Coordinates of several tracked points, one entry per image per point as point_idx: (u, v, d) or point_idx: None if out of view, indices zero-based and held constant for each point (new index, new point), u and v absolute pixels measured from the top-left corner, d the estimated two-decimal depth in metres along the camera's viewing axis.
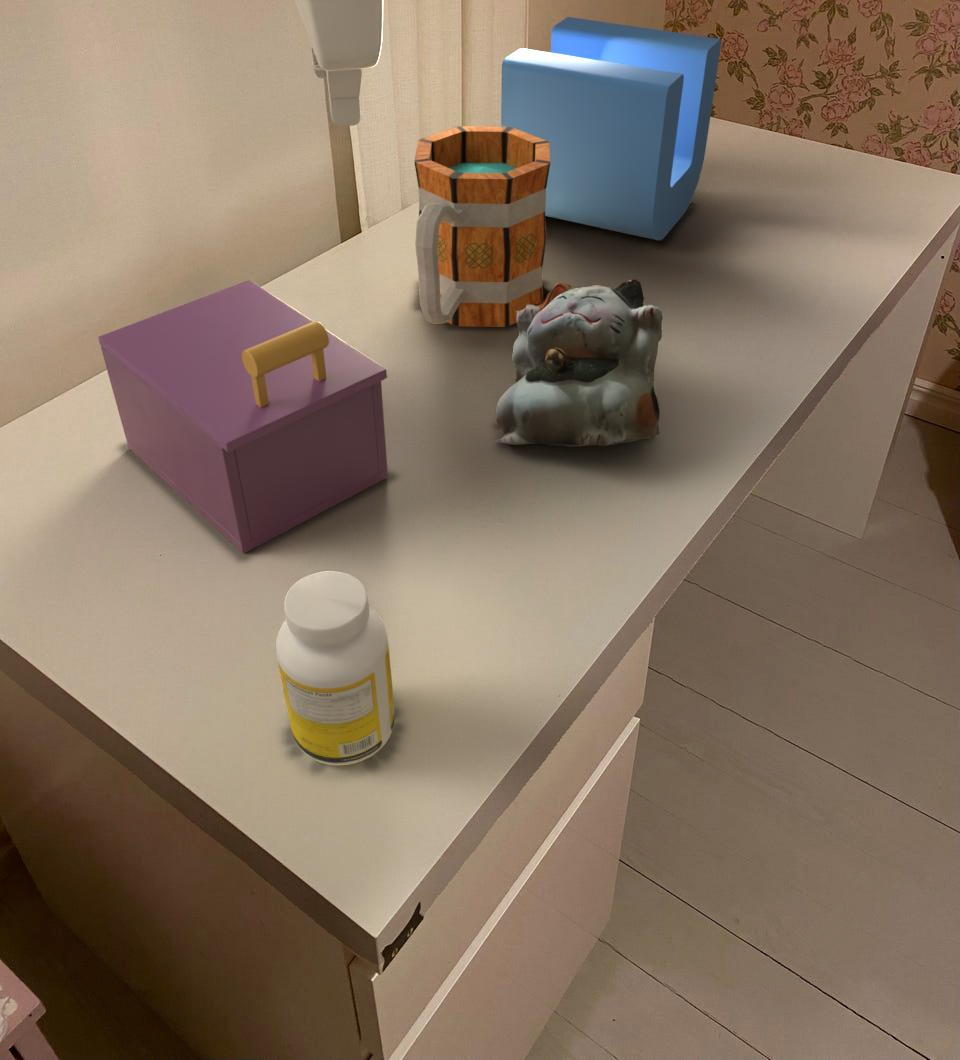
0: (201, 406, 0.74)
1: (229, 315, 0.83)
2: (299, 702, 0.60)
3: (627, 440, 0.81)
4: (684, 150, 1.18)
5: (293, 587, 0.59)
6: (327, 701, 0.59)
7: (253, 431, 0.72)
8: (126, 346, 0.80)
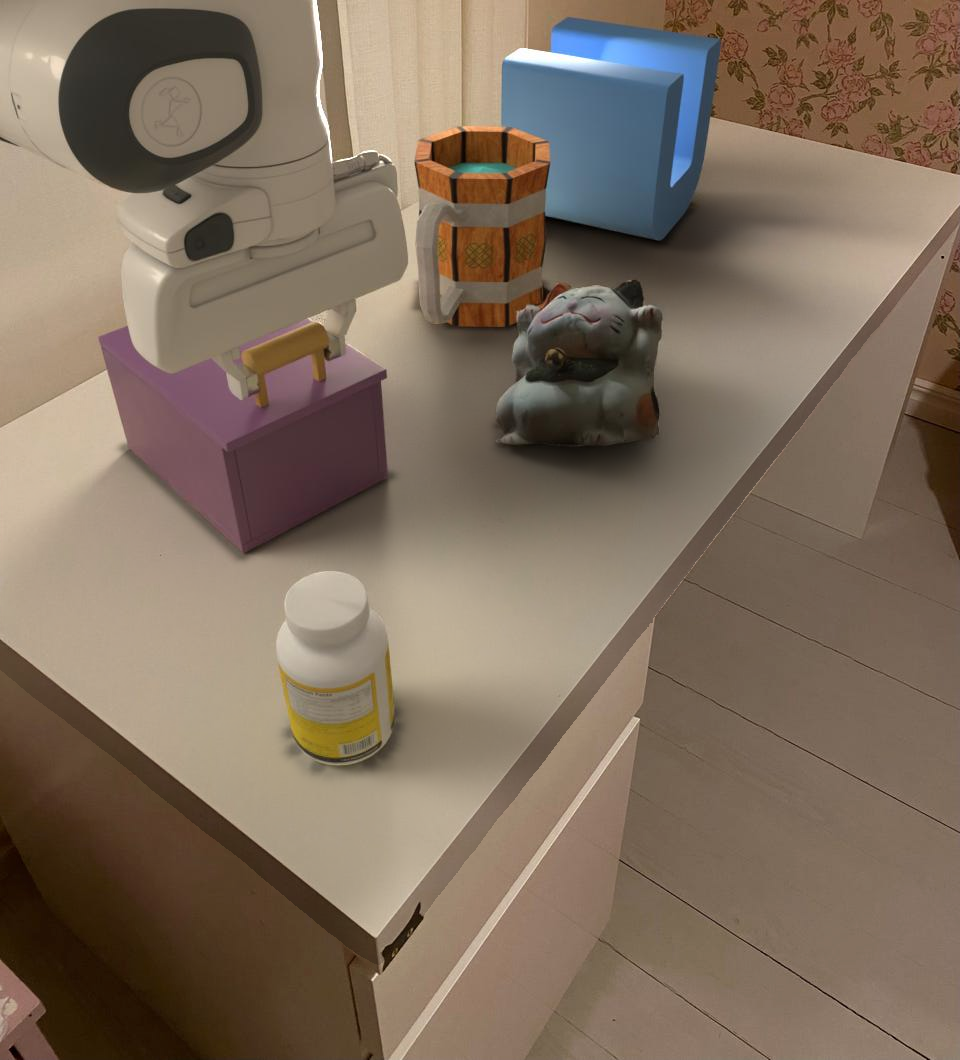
0: (201, 406, 0.74)
1: None
2: (299, 702, 0.60)
3: (627, 440, 0.81)
4: (684, 150, 1.18)
5: (293, 587, 0.59)
6: (327, 701, 0.59)
7: (253, 431, 0.72)
8: (126, 346, 0.80)
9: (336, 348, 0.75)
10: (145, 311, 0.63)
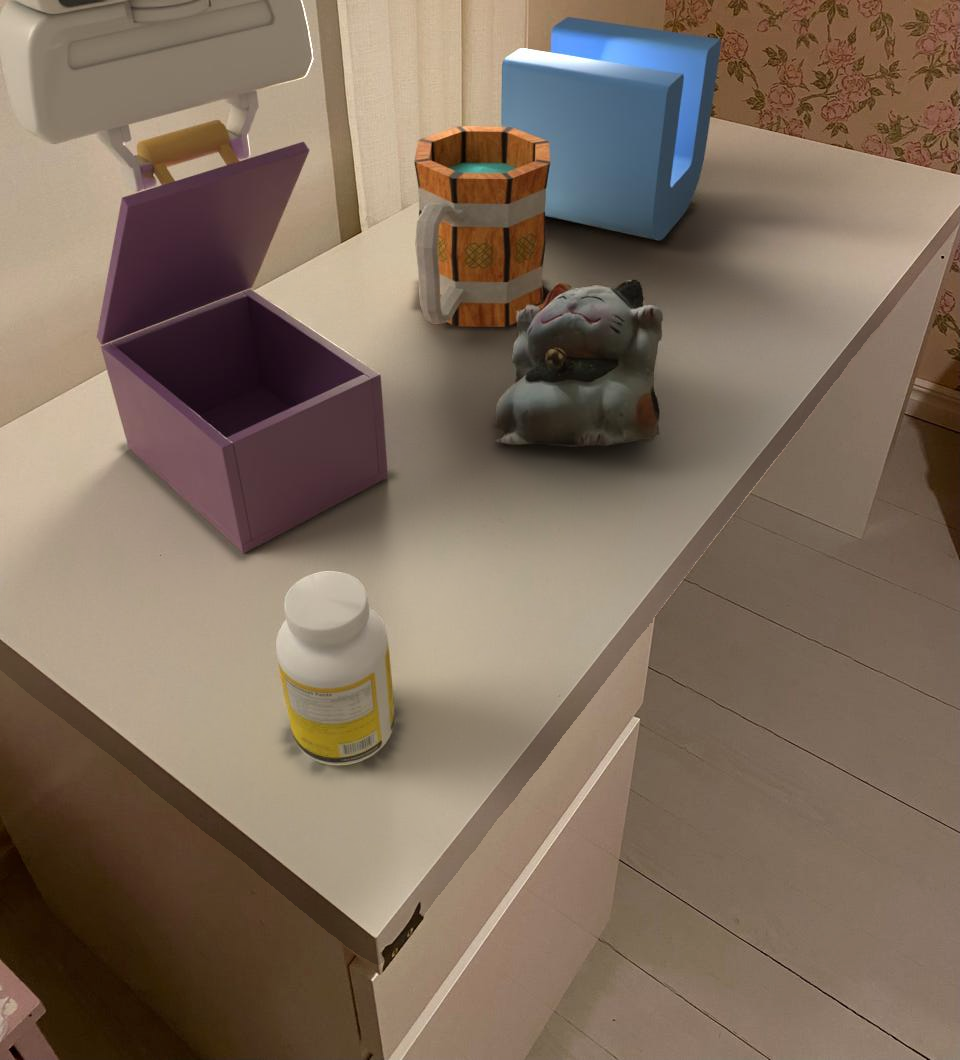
0: None
1: None
2: (299, 702, 0.60)
3: (627, 440, 0.81)
4: (684, 150, 1.18)
5: (293, 587, 0.59)
6: (327, 701, 0.59)
7: (153, 188, 0.66)
8: None
9: (239, 148, 0.73)
10: (20, 68, 0.60)
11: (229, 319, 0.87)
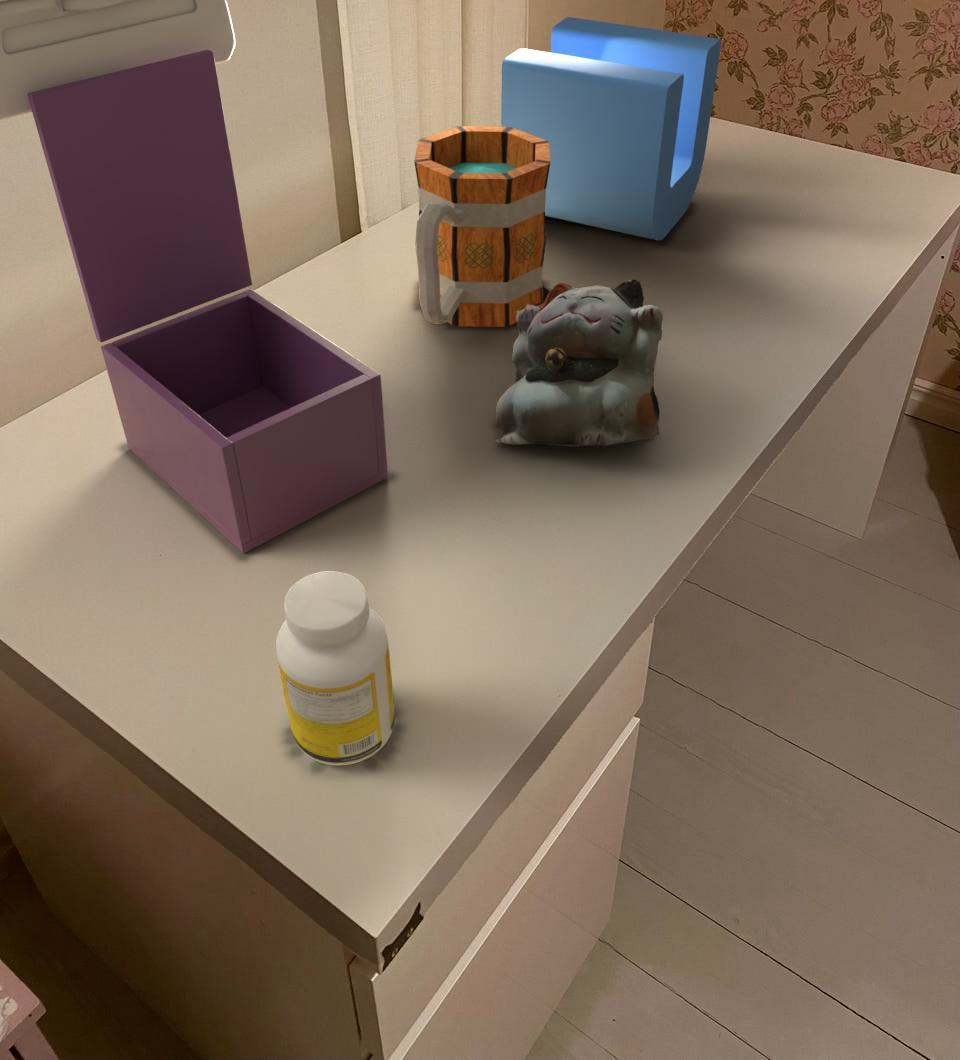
0: None
1: None
2: (299, 702, 0.60)
3: (627, 440, 0.81)
4: (684, 150, 1.18)
5: (293, 587, 0.59)
6: (327, 701, 0.59)
7: None
8: None
9: None
10: None
11: (229, 319, 0.87)
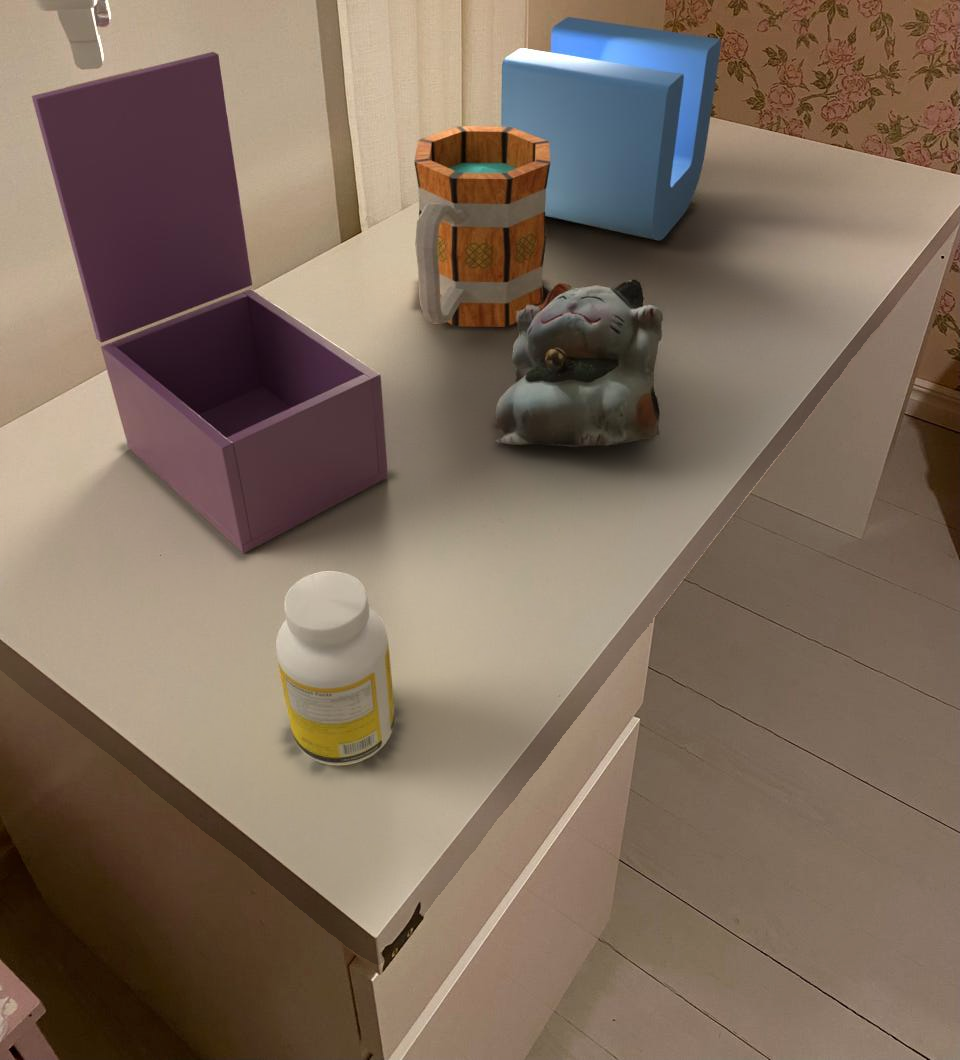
0: None
1: None
2: (299, 702, 0.60)
3: (627, 440, 0.81)
4: (684, 150, 1.18)
5: (293, 587, 0.59)
6: (327, 701, 0.59)
7: (62, 88, 0.70)
8: None
9: (108, 9, 0.77)
10: None
11: (229, 319, 0.87)
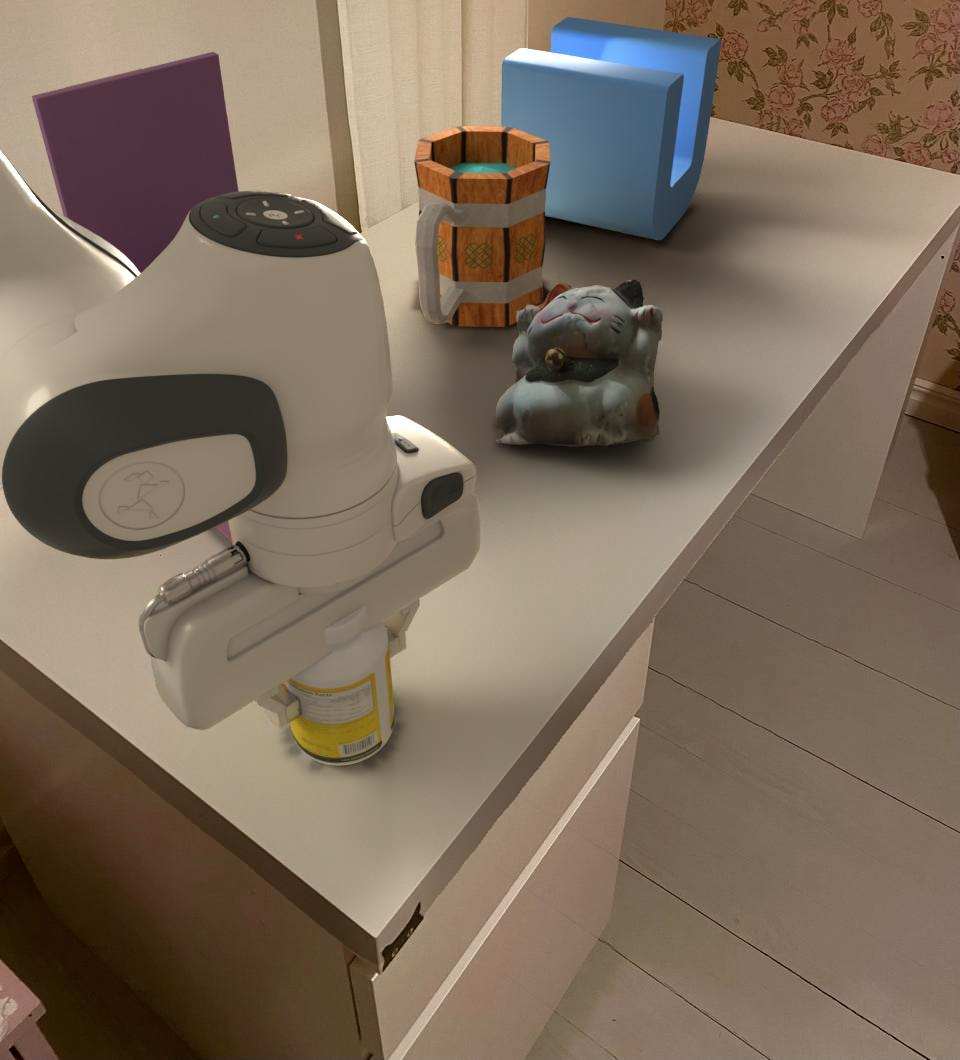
0: None
1: None
2: (299, 702, 0.60)
3: (627, 440, 0.81)
4: (684, 150, 1.18)
5: None
6: (327, 701, 0.59)
7: (62, 88, 0.70)
8: None
9: None
10: None
11: None
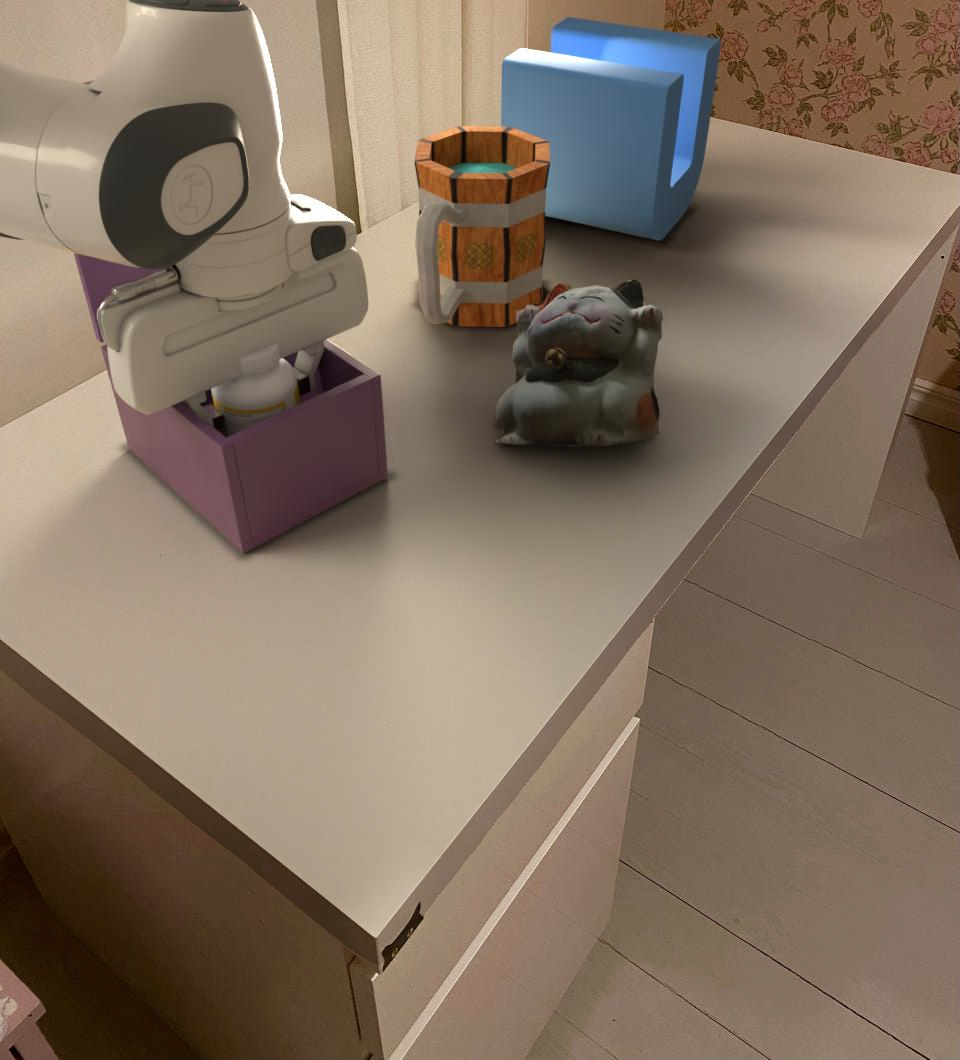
0: None
1: None
2: (228, 426, 0.79)
3: (627, 440, 0.81)
4: (684, 150, 1.18)
5: None
6: (248, 422, 0.78)
7: None
8: None
9: None
10: None
11: None
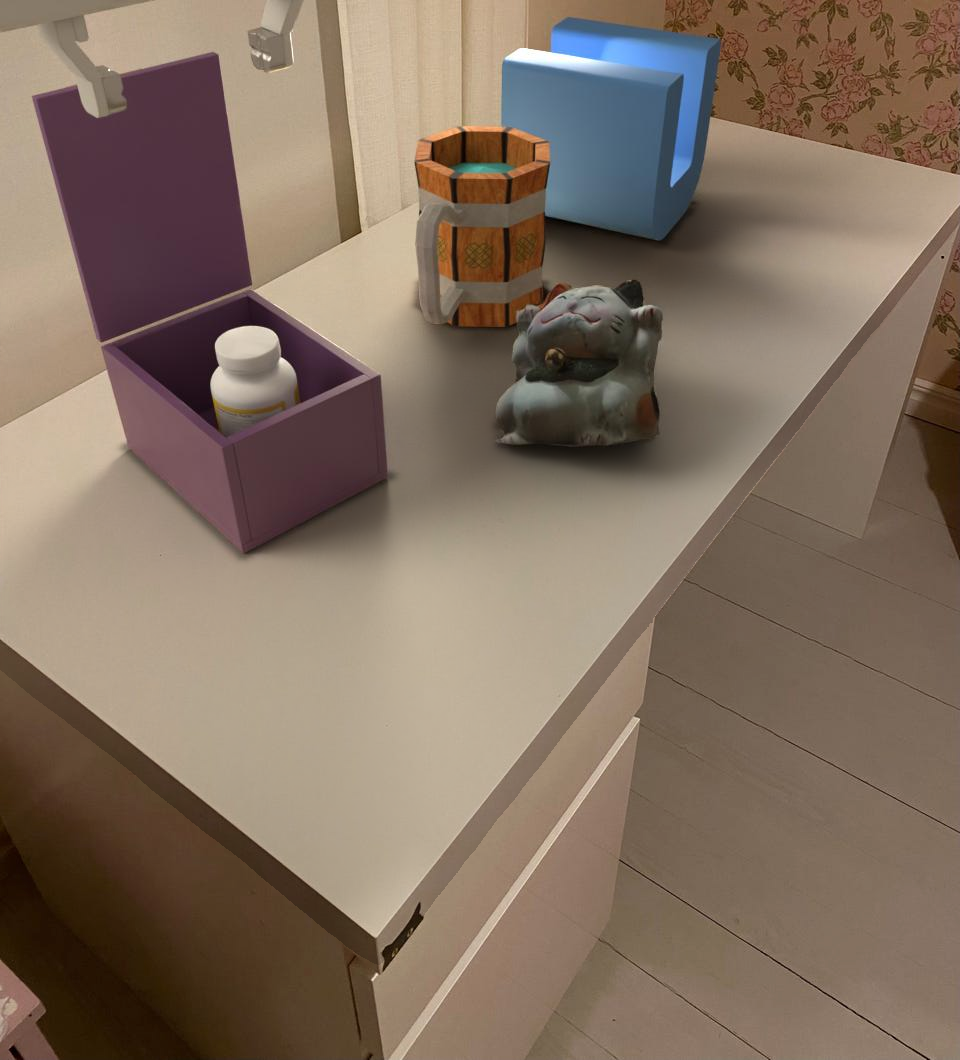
0: None
1: None
2: (228, 426, 0.79)
3: (627, 440, 0.81)
4: (684, 150, 1.18)
5: (222, 335, 0.78)
6: (248, 422, 0.78)
7: (62, 88, 0.70)
8: None
9: None
10: None
11: (229, 319, 0.87)
